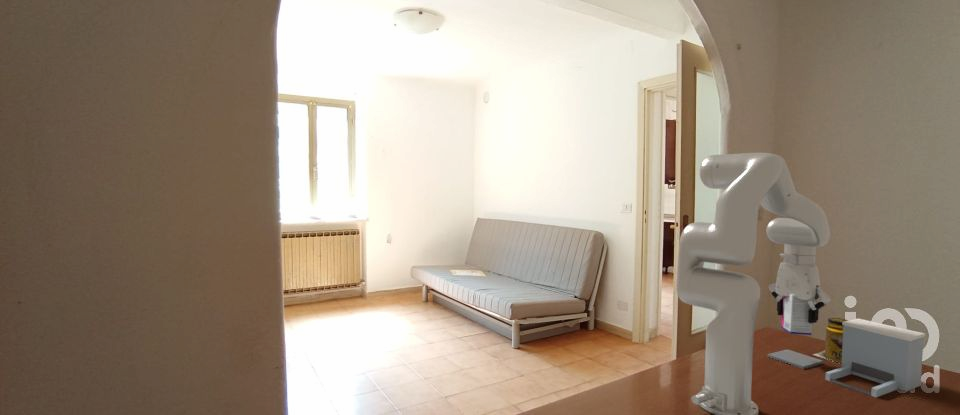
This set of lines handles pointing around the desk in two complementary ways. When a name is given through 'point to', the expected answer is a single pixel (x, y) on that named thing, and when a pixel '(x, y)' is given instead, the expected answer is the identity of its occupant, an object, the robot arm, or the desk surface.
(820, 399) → the desk surface
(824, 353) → the condiment
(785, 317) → the supplement box
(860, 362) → the dispenser
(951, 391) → the desk surface
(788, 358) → the coaster
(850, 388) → the bar
